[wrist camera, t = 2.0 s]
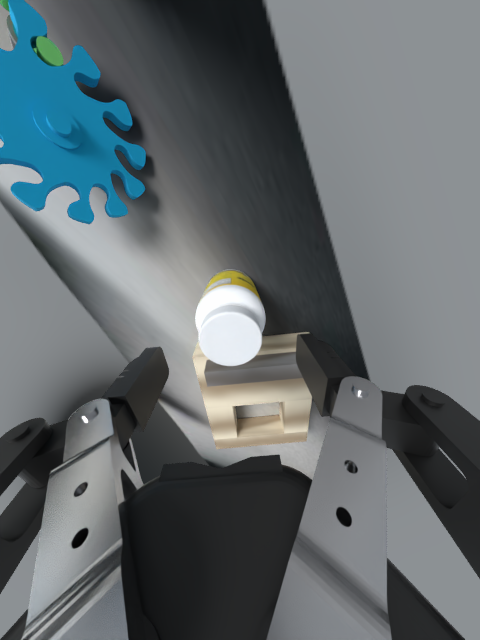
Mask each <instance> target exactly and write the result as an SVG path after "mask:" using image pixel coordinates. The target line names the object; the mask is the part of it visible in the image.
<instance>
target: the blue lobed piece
mask: <svg viewBox="0 0 480 640" xmlns="http://www.w3.org/2000/svg"><path fill="white" fill-rule="evenodd" d="M0 4H1V5H2V6H3V7H4V8H5V9H6V10H8V11H9V12H10V15H9V16H8V17H7V28H8V34H9V38H10V42H11V45H12V48H13V50H12V51H5V50H3V49H1V48H0V139H1V140H2V141H3V142H4V145H3V147H2V148H0V164H14V165H20V166H24V167H28V168H31V169H33V170H35V171H36V172H38V173H39V174H40V176H41V177H42V179H43V181H42V183H40V184H32V183H27V182H16V183H14V184H13V185H12V186H11V192H12V194H13V195H14V196H15V197H16V198H17V199H19V200H20V201H21V202H22V203H24V204H25V205H27V206H28V207H30V208H32V209H33V210H35V211H40V210H42V209H43V208H44V207H45V200H46V197H47V195H48V194H49V193H50V192H51V191H52V190H54V189H56V188H58V187H61V186H70V187H72V188H73V189H75V190H76V191H77V193H78V194H79V197H80V200H78V201H76V202H73V203H72V204H70V205H69V208H68V211H67V213H68V216H69V217H70V218H72V219H73V220H76V221H79V222H82V223H86V224H90V223H92V222H93V220H94V214H93V212H92V209H91V207H90V203H89V194H90V191H91V188H92V187H99V188H101V189H103V190H104V191H105V193H106V194H107V202H106V204H105V211H106V213H107V215H108V216H109V217H113V218H116V217H121V216H125V215H126V214H128V210H127V207H126V205H125V204H124V203H123V202H122V201H121V200H120V198H119V197H118V196H117V194H116V192H115V190H114V188H113V185H112V181H111V175H110V174H116V175H118V176H119V177H120V178H121V179H122V181H123V184H124V189H125V192H126V194H127V195H128V196H129V197H130V198H131V199H132V200H134V199H136V198H138V197H139V196H140V195H142V193H143V192H144V191H145V186H144V185H143V183H142V182H141V181H139V180H138V179H136V178H134V177H133V176H132V175H131V174H130V173H128V172H127V171H126V169H125V168H124V167H123V166H122V164H121V163H120V161H119V160H118V158H117V156H116V154H115V152H114V150H119V151H121V152H122V153H123V154H124V155H125V157H126V158H127V160H128V162H129V163H130V165H131V166H132V167H133V168H135V169H137V170H141V169H142V168H143V167H144V165H145V161H146V152H145V150H144V149H143V148H142V147H140V146H139V145H136V144H131V143H128V142H126V141H124V140H122V139H121V138H119V137H118V136H117V135H116V134H115V133H114V132H113V131H111V130H110V129H109V128H108V127H107V125H106V124H105V122H104V120H103V118H108V119H109V120H111V121H112V122H113V123H114V124H115V125H116V126H117V127H118V128H119V129H121V130H123V131H128V130H129V129H130V128H131V126H132V125H133V123H132V118H131V115H130V112H129V110H128V107H127V105H126V103H125V102H124V101H122V100H119V99H116V100H114V101H113V102H110V103H104V102H99V101H97V100H94V99H92V98H90V97H88V96H86V95H85V94H84V93H82V92H81V91H80V89H79V88H78V87H77V85H76V83H75V81H78V82H81V83H83V84H85V85H87V86H89V87H96V86H97V85H98V82H99V79H100V75H101V73H100V71H99V69H98V68H97V66H96V64H95V63H94V61H93V60H92V59H91V57H90V56H89V54H88V53H87V52H86V51H85V49H84V48H83V47H82V46H79V45H76V46H74V48H73V52H72V58H71V60H70V61H69V63H67V64H66V65H63V57H62V55H61V53H60V51H59V49H58V48H57V47H56V45H55V44H54V43H53V42H52V41H50V40H49V39H48V38H47V26H46V23H45V20H44V19H43V18H42V17H41V16H40V15H39V13H37V12H36V11H35V10H34V9H33V8H32V7H31V6H30V5H29V4H27V3H26V2H25V1H24V0H0Z"/></svg>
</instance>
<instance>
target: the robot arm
mask: <svg viewBox="0 0 480 640" xmlns="http://www.w3.org/2000/svg"><path fill="white" fill-rule="evenodd" d="M296 363H297V366H298V368H299V370H300V373H301V375H302V377H303V379H304V381H305V383H306V385H307V387H308V389H309V391H310V393H311V396H312V398H313V400H314V402H315V404H316V406H317V408H318V410H319V412H320V414H321V416H322V417H323V416H330V420H329V423H328V427H327V431H326V434H325V438H324V441H323V445H322V448H321V452H320V455H319V459H318V463H317V466H316V470H315V473H314V477H313V480H311V479H310V478H309V477H307V476H306V475H305V474H303V473H302V472H300V471H298V470H296V469H294V468H291V467H289V466H285V465H281V460H280V455H269V456H257V457H250V458H247V459H245V460H242V461H240V462H237V463H234V464H232V465H229V466H227V467H224V468H215V467H210V466H206V465H202V464H197V463H194V462H187V463H175V464H164V465H163V468H162V472H161V475H160V476H159V477H157V478H155V479H153V480H151V481H149V482H148V483H146V484H144V485H143V483H142V480H141V477H140V474H139V469H138V466H137V461H136V457H135V453H134V449H133V445H132V441H131V439H130V437H131V435H132V433H133V432H142V431H144V429H145V427H146V424H147V422H148V420H149V418H150V416H151V414H152V411H153V409H154V407H155V404H156V403H157V400H158V398H159V396H160V394H161V392H162V390H163V387H164V385H165V383H166V381H167V379H168V375H169V368H168V365H167V362H166V359H165V356H164V353H163V350H162V348H161V347H152V348H146V349H145V350H144V351H143V352H142V354H141V355H140V356H139V357H137V358H136V359H134V360H133V361H132V362H130V363H129V364H128V365H127V367H126V368H125V369H124V370H123V372H122V373H121V374H120V375H119V378H117V379H116V380H115V381H114V383H113V384H112V385H111V386H110V388H109V389H108V390H107V392H105V394H104V395H103V396H102V398H101V399H97V400H93V401H91V402H89V403H87V404H85V405H83V406H82V407H80V408H79V409H78V410H76V411H75V412H74V413H73V414H72V415H71V417H70V418H69V419H68V420H65V421H62V422H59V423H56V424H53V425H49V424H48V423H47V422H46V421H45V420H44V419H43V418H35V419H31V420H28V421H26V422H24V423H21V424H20V425H18V426H16V427H14V428H13V429H11V430H10V431H8V432H7V433H5V434H4V435H3V436H2V437H1V438H0V496H1V494H2V493H3V492H4V491H5V490H6V489H7V487H8V486H9V485H10V484H11V483H12V482H13V480H14V479H15V478H16V477H17V476H19V477H21V478H22V479H23V480H24V481H25V482H26V484H25V485H24V486H23V488H22V489H21V490H20V491H19V492H18V494H17V495H16V496H15V498H14V499H13V500H12V501H11V503H10V504H9V505H8V506H7V508H6V509H5V510H4V511H3V513H2V514H1V515H0V594H1V592H2V590H3V589H4V587H5V585H6V584H7V582H8V581H9V579H10V577H11V576H12V574H13V573H14V571H15V569H16V567H17V566H18V564H19V563H20V561H21V560H22V558H23V556H24V555H25V553H26V551H27V550H28V548H29V547H30V545H31V543H32V542H33V540H34V539H35V537H36V535H37V534H38V532H39V530H40V529H41V532H40V539H39V545H38V551H37V557H36V564H35V571H34V576H33V583H32V589H31V596H30V602H29V608H28V609H27V610H26V612H25V613H24V614H23V615H22V616H21V617H20V618H19V619H18V621H17V622H16V623H15V624H14V625H13V626H12V627H11V628H10V629H9V631H8V632H7V633H6V634H5V635H4V636H3V637H2V638H1V639H0V640H465V639H464V638H463V637H462V636H461V635H460V634H459V633H458V631H457V630H456V629H455V628H454V627H453V626H452V625H451V624H450V623H449V622H448V621H447V620H446V619H445V618H444V617H443V616H442V615H441V614H440V613H439V612H438V611H437V610H436V609H435V607H434V606H433V605H432V604H431V603H430V602H429V601H428V600H427V599H426V598H425V597H424V596H423V595H422V594H421V593H420V592H419V591H418V590H417V589H416V588H415V586H414V585H413V584H412V583H411V582H410V581H409V580H408V579H407V578H406V577H405V576H404V575H403V574H402V573H401V572H400V571H399V570H398V569H397V568H396V567H395V565H394V564H392V563H391V561H390V560H389V559H388V558H387V465H386V464H387V463H386V462H387V455H386V454H387V449H386V448H390V449H392V450H393V451H394V453H395V454H396V455H397V457H398V458H399V460H400V461H401V463H402V464H403V466H404V467H405V469H406V470H407V472H408V473H409V475H410V476H411V478H412V479H413V481H414V482H415V484H416V485H417V486H418V488H419V490H420V491H421V492H422V494H423V495H424V497H425V498H426V500H427V501H428V503H429V504H430V506H431V507H432V509H433V510H434V512H435V513H436V515H437V516H438V518H439V519H440V521H441V522H442V524H443V525H444V527H445V528H446V530H447V531H448V533H449V534H450V535H451V537H452V538H453V540H454V541H455V543H456V544H457V546H458V547H459V549H460V550H461V552H462V553H463V555H464V556H465V558H466V559H467V560H468V562H469V563H470V565H471V566H472V568H473V570H474V571H475V573H476V574H477V575H478V577H479V578H480V421H479V420H478V419H476V418H475V417H474V416H473V415H471V414H470V413H469V412H468V411H467V410H465V409H464V408H463V407H461V406H460V405H459V404H458V403H457V402H455V401H454V400H453V399H451V398H450V397H449V396H447V395H446V394H444V393H442V392H440V391H438V390H435V389H433V388H430V387H426V386H420V385H414V386H410V387H408V388H407V390H406V392H405V394H398V393H392V392H386V391H381V390H380V389H379V388H378V387H377V386H376V385H375V384H374V383H372V382H370V381H369V380H366V379H364V378H361V377H356V375H355V374H354V373H353V372H352V371H351V370H350V368H349V367H348V366H347V365H346V364H345V363H344V361H343V360H342V359H341V358H340V357H339V356H338V354H337V353H335V351H334V350H333V349H332V347H331V346H330V345H328V344H326V343H325V342H323V341H317V339H316V338H315V337H314V336H313V334H312V333H307V334H298V335H297V342H296ZM439 447H440V448H441V449H442V450H443V451H444V452H445V453H446V454H447V455H448V457H449V458H450V459H451V460H452V461H453V462H454V463H455V464H456V465H457V467H458V468H459V469H460V470H461V471H462V473H463V474H464V476H465V477H466V479H467V480H466V479H465V478H464V476H463V475H462V474H461V473H460V472H459V471H458V470H457V469H456V467H455V466H454V465H453V464H452V463H451V462H450V461H449V460H448V458H447V457H446V456H445V455H444V454H443V453H442V452H441V451H440V449H439Z"/></svg>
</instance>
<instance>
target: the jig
mask: <svg viewBox="0 0 480 640" xmlns="http://www.w3.org/2000/svg"><path fill="white" fill-rule="evenodd" d="M307 333H309V332H302V333H292V334H281V335H271V336H262V345H261V348H260V350H259V352H258V353H257V354H256V356H255V357H254V358H253V359H251V360H250V361H248V362H246V363H244V364H241V365H237V366H224V365H220V364H217V363H215V362H213V361H211V360H210V359H208V358H207V357H206V356H205V355H204V353H203V352H202V350H201V348H200V345H199V342H197V345H196V348H195V351H194V354H193V357H192V358H193V362H194V366H195V369H196V373H197V377H198V381H199V385H200V388H201V392H202V396H203V400H204V403H205V407H206V411H207V415H208V419H209V422H210V426H211V430H212V434H213V437H214V441H215V445H216V449H224V448H236V447H247V446H258V445H270V444H281V443H292V442H304V441H306V440H307V432H308V425H309V417H310V409H311V402H312V396H311V393H310V391H309V389H308V387H307V385H306V383H305V381H304V379H303V377H302V375H301V373H300V370H299V368H298V366H297V363H296V342H297V335H298V334H307ZM274 402H280V415H274V416H263V417H252V418H241V419H237V415H236V409H235V406H241V405H252V404H263V403H274Z"/></svg>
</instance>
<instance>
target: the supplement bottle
mask: <svg viewBox="0 0 480 640" xmlns="http://www.w3.org/2000/svg"><path fill="white" fill-rule="evenodd" d="M265 321H266V316H265V310H264V307H263V304H262V302H261V300H260V297H259V295H258V292H257V290H256V287H255V285H254V283H253V281H252V280H251V279H250V277H249V276H247V275H246V274H245V273H243V272H241V271H239V270H233V269H229V270H224V271H221V272H219V273H217V274H216V275H214V276H213V277H212V279H211V280H210V281H209V283H208V285H207V287H206V289H205V291H204V294H203V296H202V298H201V300H200V302H199V304H198V307H197V310H196V316H195V322H196V327H197V330H198V332H199V345H200V348H201V350H202V352H203V353H204V355H205V356H206V357H207V358H208V359H210V360H211V361H213V362H215V363H217V364H220V365H224V366H237V365H241V364H244V363H246V362H248V361H250V360H251V359H253V358H254V357H255V356H256V354H257V353H258V352H259V350H260V348H261V345H262V332H263V330H264V327H265Z"/></svg>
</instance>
